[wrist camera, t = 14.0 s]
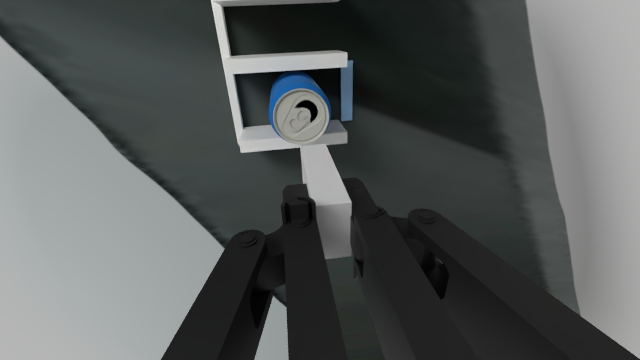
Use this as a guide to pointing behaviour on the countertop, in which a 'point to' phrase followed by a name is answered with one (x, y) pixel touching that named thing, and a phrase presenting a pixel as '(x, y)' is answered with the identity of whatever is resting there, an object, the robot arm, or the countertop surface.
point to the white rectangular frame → (265, 135)
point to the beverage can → (298, 108)
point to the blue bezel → (346, 91)
